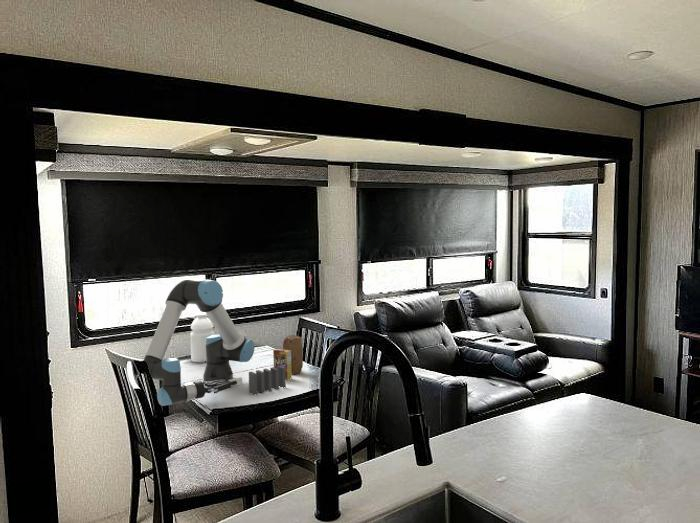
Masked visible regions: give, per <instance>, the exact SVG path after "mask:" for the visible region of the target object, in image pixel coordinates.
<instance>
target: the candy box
mask: <svg viewBox="0 0 700 523" xmlns="http://www.w3.org/2000/svg"><path fill="white" fill-rule="evenodd" d="M272 351H273V352H272V353H273V367H274V368H277V366H282V367H285V369H286V381H289V380H291V379H292V378H293V377H292V375H293V374H292V372H291V350H285V349H283V348H275V349H273V350H272ZM290 378H291V379H290ZM288 379H289V380H288Z"/></svg>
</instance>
